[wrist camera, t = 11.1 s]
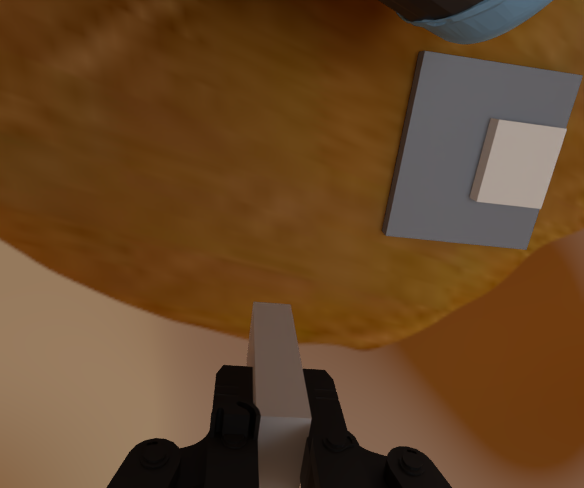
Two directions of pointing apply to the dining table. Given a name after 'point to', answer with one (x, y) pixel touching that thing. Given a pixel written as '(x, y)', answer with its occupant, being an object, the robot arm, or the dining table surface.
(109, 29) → the dining table surface
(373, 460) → the robot arm
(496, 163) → the tile
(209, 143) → the dining table surface
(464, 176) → the board
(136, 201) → the dining table surface
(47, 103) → the dining table surface
